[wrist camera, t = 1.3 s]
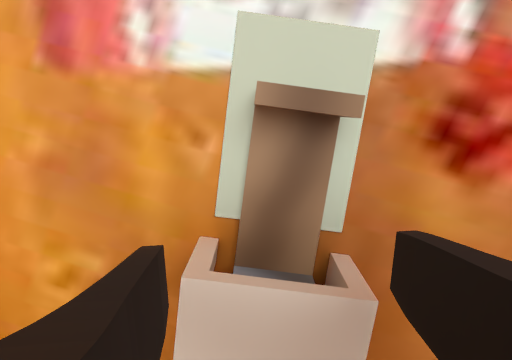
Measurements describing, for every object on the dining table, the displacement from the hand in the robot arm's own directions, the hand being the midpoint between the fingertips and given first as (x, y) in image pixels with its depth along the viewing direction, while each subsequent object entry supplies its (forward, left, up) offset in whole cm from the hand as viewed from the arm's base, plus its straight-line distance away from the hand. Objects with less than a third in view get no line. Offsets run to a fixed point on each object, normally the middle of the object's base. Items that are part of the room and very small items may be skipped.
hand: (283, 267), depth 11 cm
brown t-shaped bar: (-1, +3, -11) cm, 11 cm away
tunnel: (-1, +7, -11) cm, 13 cm away
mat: (-1, -4, -11) cm, 12 cm away
